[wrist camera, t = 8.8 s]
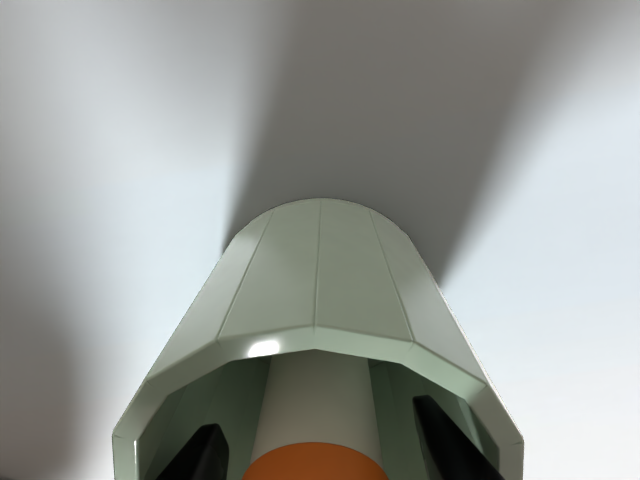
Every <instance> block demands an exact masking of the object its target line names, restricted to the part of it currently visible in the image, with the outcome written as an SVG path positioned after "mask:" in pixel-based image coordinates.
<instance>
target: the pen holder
mask: <svg viewBox="0 0 640 480" xmlns="http://www.w3.org/2000/svg"><path fill="white" fill-rule="evenodd" d="M310 349H318V350H324V351H330V352H336V353H342V354H348V355H354V356H360V357H366V358H367V359H368V366H369V373H370V379H371V386H372V393H373V400H374V406H375V413H376V420H377V427H378V433H379V440H380V447H381V454H382V460H383V467H384V472H385V473H386V475H387V477H388V479H389V480H428V477H427V472H426V468H425V464H424V460H423V456H422V451H421V447H420V443H419V439H418V435H417V430H416V425H415V419H414V412H413V404H412V398H413V397H414V396H420V395H430V396H431V397H432V398H433V399H434V400H435V401H436V402H437V403H438V404H439V406H440V407H441V408H442V409H443V410H444V411H445V412H446V413H447V415H448V416H449V417H450V418H451V419H452V420H453V421H454V422H455V424H456V425H457V426H458V427H459V428H460V429H461V430H462V431H463V433H464V434H465V435H466V436H467V437H468V438H469V439H470V440H471V442H472V443H473V444H474V445H475V446H476V447H477V448H478V449H479V450H480V452H481V453H482V454H483V455H484V456H485V457H486V458H487V459H488V461H489V462H490V463H491V464H492V465H493V466H494V467H495V468H496V470H497V471H498V472H499V473H500V474H501V475H502V476H503V477H504V479H505V480H523V459H524V440H523V436H522V434H521V432H520V430H519V429H518V427H517V425H516V423H515V422H514V420H513V418H512V416H511V414H510V413H509V411H508V409H507V407H506V406H505V404H504V402H503V400H502V398H501V397H500V395H499V393H498V391H497V390H496V388H495V386H494V384H493V382H492V381H491V379H490V377H489V375H488V373H487V372H486V370H485V368H484V366H483V365H482V363H481V361H480V359H479V357H478V356H477V354H476V352H475V350H474V349H473V347H472V345H471V343H470V341H469V340H468V338H467V336H466V334H465V332H464V331H463V329H462V327H461V325H460V324H459V322H458V320H457V318H456V316H455V315H454V313H453V311H452V309H451V308H450V306H449V304H448V302H447V300H446V299H445V297H444V295H443V293H442V292H441V290H440V288H439V286H438V284H437V283H436V281H435V279H434V277H433V275H432V274H431V272H430V270H429V268H428V267H427V265H426V264H425V262H424V260H423V259H422V257H421V255H420V254H419V252H418V250H417V249H416V247H415V245H414V244H413V243H412V241H411V239H410V238H409V236H407V234H406V233H404V232H403V231H402V230H401V229H400V228H399V227H398V226H397V225H396V224H395V223H393V222H392V221H391V220H389V219H388V218H387V217H385V216H383V215H382V214H380V213H378V212H376V211H375V210H373V209H370V208H368V207H365V206H363V205H360V204H357V203H353V202H349V201H345V200H339V199H331V198H312V199H304V200H297V201H293V202H289V203H285V204H282V205H280V206H277V207H275V208H272V209H270V210H268V211H266V212H264V213H263V214H261V215H259V216H257V217H256V218H255V219H253V220H252V221H251V222H249V223H248V224H247V225H246V226H245V227H244V228H243V229H242V230H241V231H239V232H238V233H237V234H236V235H235V236H234V237H233V239H232V241H231V242H230V244H229V245H228V247H227V249H226V250H225V252H224V253H223V255H222V257H221V258H220V260H219V261H218V263H217V264H216V266H215V268H214V269H213V271H212V272H211V274H210V276H209V277H208V279H207V280H206V282H205V284H204V285H203V287H202V288H201V290H200V291H199V293H198V295H197V296H196V298H195V299H194V301H193V303H192V304H191V306H190V307H189V309H188V311H187V312H186V314H185V315H184V317H183V318H182V320H181V322H180V323H179V325H178V326H177V328H176V330H175V331H174V333H173V334H172V336H171V337H170V339H169V341H168V342H167V344H166V345H165V347H164V349H163V350H162V352H161V353H160V355H159V357H158V358H157V360H156V361H155V363H154V364H153V366H152V368H151V369H150V371H149V372H148V374H147V376H146V377H145V379H144V380H143V382H142V384H141V385H140V387H139V389H138V390H137V392H136V393H135V395H134V397H133V398H132V400H131V402H130V403H129V405H128V406H127V408H126V410H125V411H124V413H123V415H122V416H121V418H120V420H119V421H118V423H117V424H116V426H115V428H114V429H113V434H112V447H113V463H114V479H115V480H155V479H156V478H157V477H158V476H159V474H160V473H161V472H162V471H163V470H164V469H165V467H166V466H167V465H168V464H169V463H170V461H171V460H172V459H173V458H174V457H175V456H176V454H177V453H178V452H179V451H180V450H181V448H182V447H183V446H184V445H185V444H186V442H187V441H188V440H189V439H190V438H191V437H192V435H193V434H194V433H195V432H196V431H197V429H198V428H199V427H201V426H202V425H205V424H212V423H217V424H219V425H220V427H221V429H222V431H223V433H224V436H225V438H226V440H227V442H228V445H229V463H228V471H227V480H242V477H243V475H244V473H245V472H246V470H247V469H248V468H249V465H250V460H251V455H252V450H253V445H254V441H255V436H256V431H257V426H258V421H259V416H260V412H261V407H262V402H263V397H264V392H265V387H266V383H267V378H268V373H269V368H270V363H271V358H272V355H276V354H283V353H289V352H296V351H303V350H310Z"/></svg>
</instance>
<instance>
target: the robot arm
mask: <svg viewBox="0 0 640 480" xmlns="http://www.w3.org/2000/svg"><path fill="white" fill-rule="evenodd" d="M412 404H413V412H414V419H415V425H416V430H417V435H418V439H419V443H420V447H421V451H422V456H423V460H424V464H425V468H426V472H427V477H428V480H505V479H504V477H503V476H502V475H501V474H500V473H499V472H498V471H497V470H496V468H495V467H494V466H493V465H492V464H491V463H490V462H489V461H488V459H487V458H486V457H485V456H484V455H483V454H482V453H481V452H480V450H479V449H478V448H477V447H476V446H475V445H474V444H473V443H472V442H471V440H470V439H469V438H468V437H467V436H466V435H465V434H464V433H463V431H462V430H461V429H460V428H459V427H458V426H457V425H456V424H455V422H454V421H453V420H452V419H451V418H450V417H449V416H448V415H447V413H446V412H445V411H444V410H443V409H442V408H441V407H440V406H439V404H438V403H437V402H436V401H435V400H434V399H433V398H432V397H431V396H430V395H420V396H414V397H413V398H412ZM228 463H229V445H228V442H227V440H226V438H225V436H224V433H223V431H222V429H221V427H220V425H219V424H217V423H212V424H205V425H202V426H201V427H199V428H198V429H197V431H196V432H195V433H194V434H193V435H192V437H191V438H190V439H189V440H188V441H187V442H186V444H185V445H184V446H183V447H182V448H181V450H180V451H179V452H178V453H177V454H176V456H175V457H174V458H173V459H172V460H171V461H170V463H169V464H168V465H167V466H166V467H165V469H164V470H163V471H162V472H161V473H160V474H159V476H158V477H157V478H156V479H155V480H227V471H228Z"/></svg>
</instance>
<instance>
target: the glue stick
mask: <svg viewBox="0 0 640 480" xmlns="http://www.w3.org/2000/svg"><path fill="white" fill-rule="evenodd" d="M242 480H389V479H388V477H387V475H386V473H385V472H384V467H383V460H382V454H381V447H380V440H379V433H378V427H377V420H376V413H375V406H374V400H373V393H372V386H371V379H370V373H369V366H368V359H367V358H366V357H360V356H354V355H348V354H342V353H336V352H330V351H324V350H318V349H310V350H303V351H296V352H289V353H283V354H276V355H272V358H271V363H270V368H269V373H268V378H267V383H266V387H265V392H264V397H263V402H262V407H261V412H260V416H259V421H258V426H257V431H256V436H255V441H254V445H253V450H252V455H251V460H250V465H249V468H248V469H247V470H246V472H245V473H244V475H243V477H242Z"/></svg>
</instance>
